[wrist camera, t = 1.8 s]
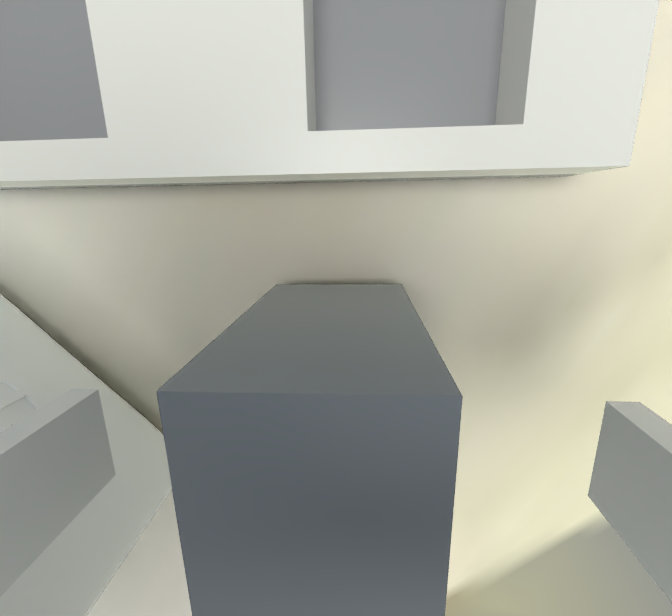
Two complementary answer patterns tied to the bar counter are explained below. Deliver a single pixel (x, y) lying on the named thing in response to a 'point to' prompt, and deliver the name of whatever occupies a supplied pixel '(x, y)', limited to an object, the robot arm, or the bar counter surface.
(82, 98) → the socket plate
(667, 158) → the bar counter surface
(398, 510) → the plug
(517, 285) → the bar counter surface
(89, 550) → the cable organizer
